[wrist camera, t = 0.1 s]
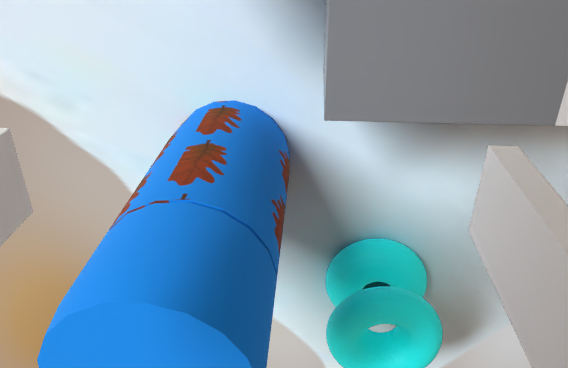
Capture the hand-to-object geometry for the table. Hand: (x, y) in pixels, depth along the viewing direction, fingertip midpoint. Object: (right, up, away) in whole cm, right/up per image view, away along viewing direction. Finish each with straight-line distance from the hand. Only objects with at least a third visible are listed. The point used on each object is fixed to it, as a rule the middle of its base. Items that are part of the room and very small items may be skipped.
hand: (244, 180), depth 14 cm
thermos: (-4, +3, +31) cm, 31 cm away
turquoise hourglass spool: (+10, -9, +37) cm, 39 cm away
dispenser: (+11, +13, +24) cm, 30 cm away
